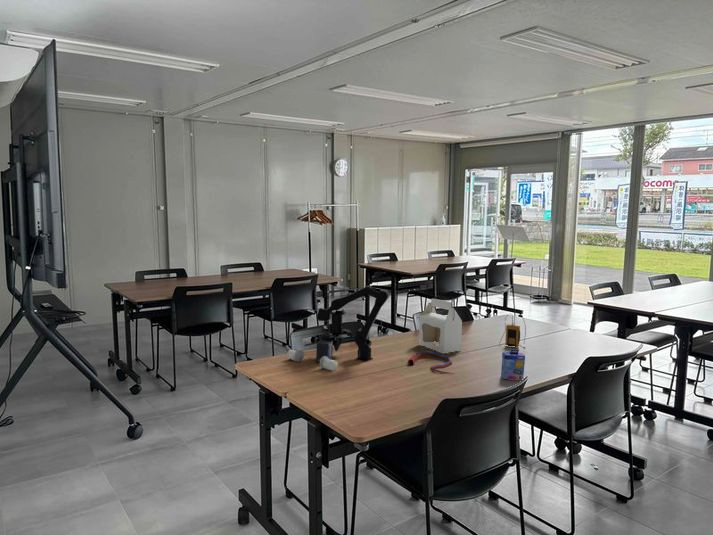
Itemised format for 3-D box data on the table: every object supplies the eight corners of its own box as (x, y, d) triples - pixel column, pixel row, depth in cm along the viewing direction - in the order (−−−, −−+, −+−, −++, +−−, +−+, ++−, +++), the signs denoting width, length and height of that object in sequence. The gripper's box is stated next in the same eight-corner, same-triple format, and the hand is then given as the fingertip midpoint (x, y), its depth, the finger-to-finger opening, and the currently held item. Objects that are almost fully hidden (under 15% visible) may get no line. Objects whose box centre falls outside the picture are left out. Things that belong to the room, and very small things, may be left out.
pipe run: (338, 369, 254) (338, 357, 254) (330, 372, 250) (330, 360, 249) (294, 357, 273) (294, 346, 272) (286, 360, 268) (286, 349, 267)
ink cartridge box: (503, 380, 244) (504, 350, 242) (500, 376, 249) (501, 347, 248) (524, 380, 243) (526, 350, 242) (520, 377, 249) (522, 347, 247)
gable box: (461, 351, 293) (463, 302, 290) (443, 354, 286) (446, 304, 283) (435, 342, 312) (436, 296, 309) (418, 345, 305) (419, 298, 302)
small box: (328, 363, 264) (328, 343, 262) (315, 362, 265) (315, 342, 264) (333, 357, 274) (333, 338, 273) (321, 356, 275) (321, 337, 274)
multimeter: (528, 346, 307) (530, 313, 305) (523, 349, 299) (525, 315, 297) (503, 342, 315) (505, 310, 313) (498, 345, 307) (500, 312, 305)
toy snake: (474, 370, 262) (475, 360, 262) (449, 377, 247) (449, 366, 246) (425, 357, 284) (426, 348, 284) (399, 363, 269) (399, 353, 268)
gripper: (336, 317, 287) (336, 344, 289) (313, 322, 272) (313, 351, 274) (352, 320, 280) (351, 348, 282) (329, 325, 265) (329, 355, 267)
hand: (336, 350), depth 276 cm, fingers closed
